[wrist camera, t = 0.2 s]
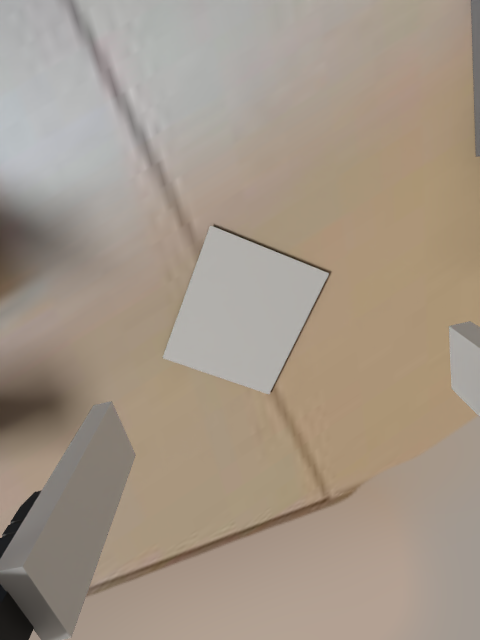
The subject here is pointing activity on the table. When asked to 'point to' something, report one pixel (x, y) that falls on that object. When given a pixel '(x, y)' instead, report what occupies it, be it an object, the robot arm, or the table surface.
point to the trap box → (476, 68)
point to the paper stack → (242, 311)
